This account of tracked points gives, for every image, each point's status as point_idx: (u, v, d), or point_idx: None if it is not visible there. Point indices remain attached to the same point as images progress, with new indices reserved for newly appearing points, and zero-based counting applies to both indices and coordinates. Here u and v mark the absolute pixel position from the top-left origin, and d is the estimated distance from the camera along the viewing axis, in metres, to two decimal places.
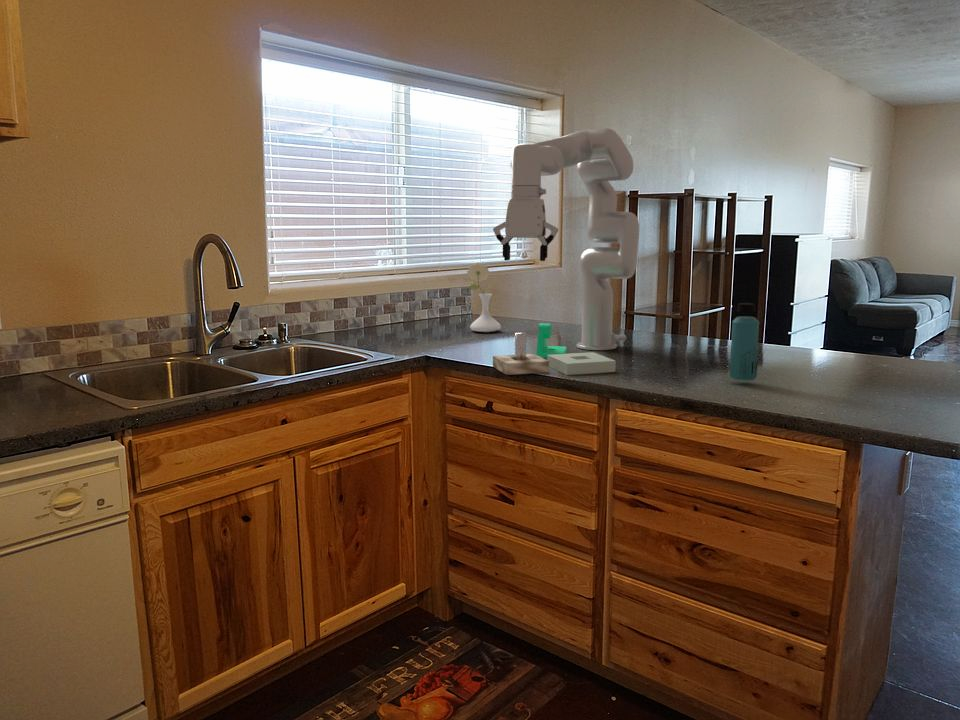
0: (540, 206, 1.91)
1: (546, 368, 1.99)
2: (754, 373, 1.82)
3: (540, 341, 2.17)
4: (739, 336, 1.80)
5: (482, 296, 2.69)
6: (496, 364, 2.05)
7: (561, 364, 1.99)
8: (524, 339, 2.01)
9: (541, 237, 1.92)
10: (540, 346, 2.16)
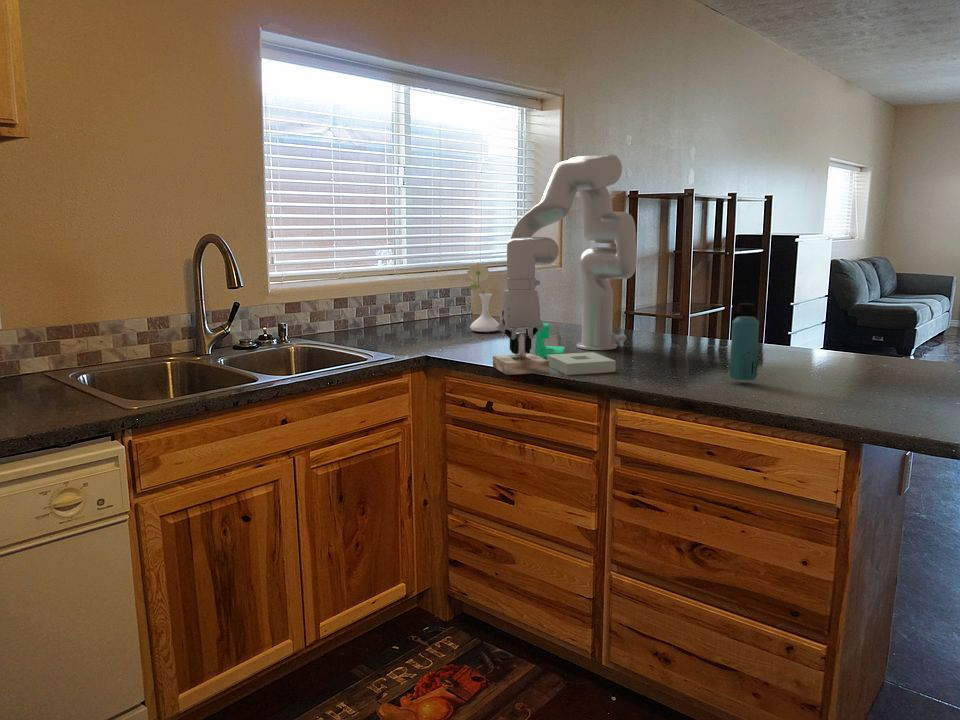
0: None
1: (546, 368, 1.99)
2: (754, 373, 1.82)
3: (538, 341, 2.17)
4: (739, 336, 1.80)
5: (482, 296, 2.69)
6: (496, 364, 2.05)
7: (561, 364, 1.99)
8: (524, 339, 2.01)
9: (531, 330, 2.01)
10: (538, 346, 2.16)
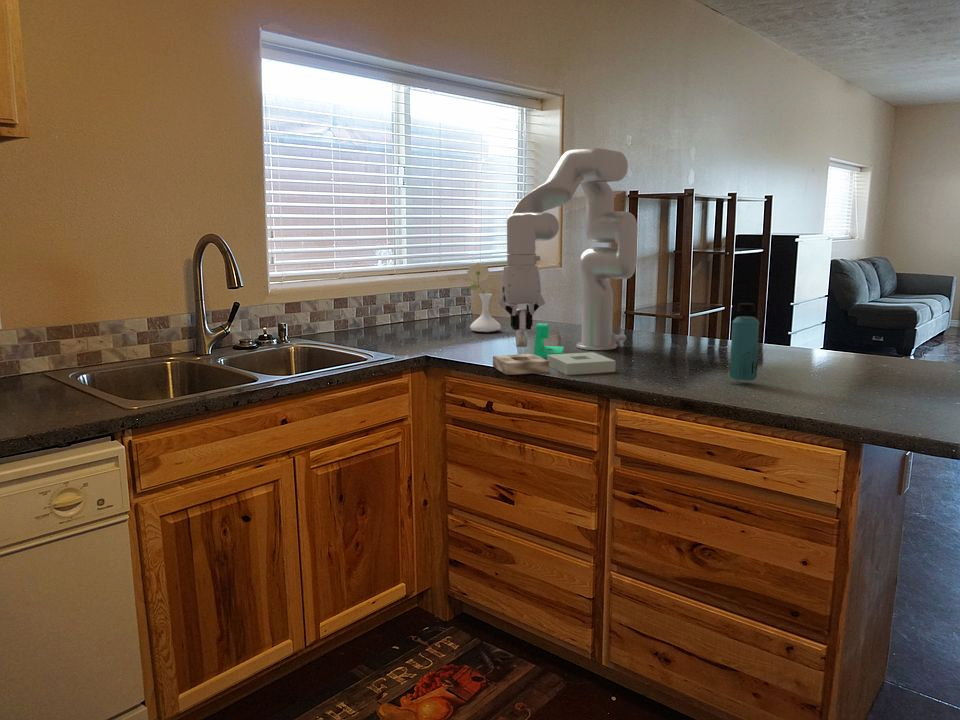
0: (538, 273, 1.99)
1: (546, 368, 1.99)
2: (754, 373, 1.82)
3: (537, 341, 2.17)
4: (739, 336, 1.80)
5: (482, 296, 2.69)
6: (496, 364, 2.05)
7: (561, 364, 1.99)
8: (525, 315, 2.00)
9: (532, 306, 2.00)
10: (538, 346, 2.16)
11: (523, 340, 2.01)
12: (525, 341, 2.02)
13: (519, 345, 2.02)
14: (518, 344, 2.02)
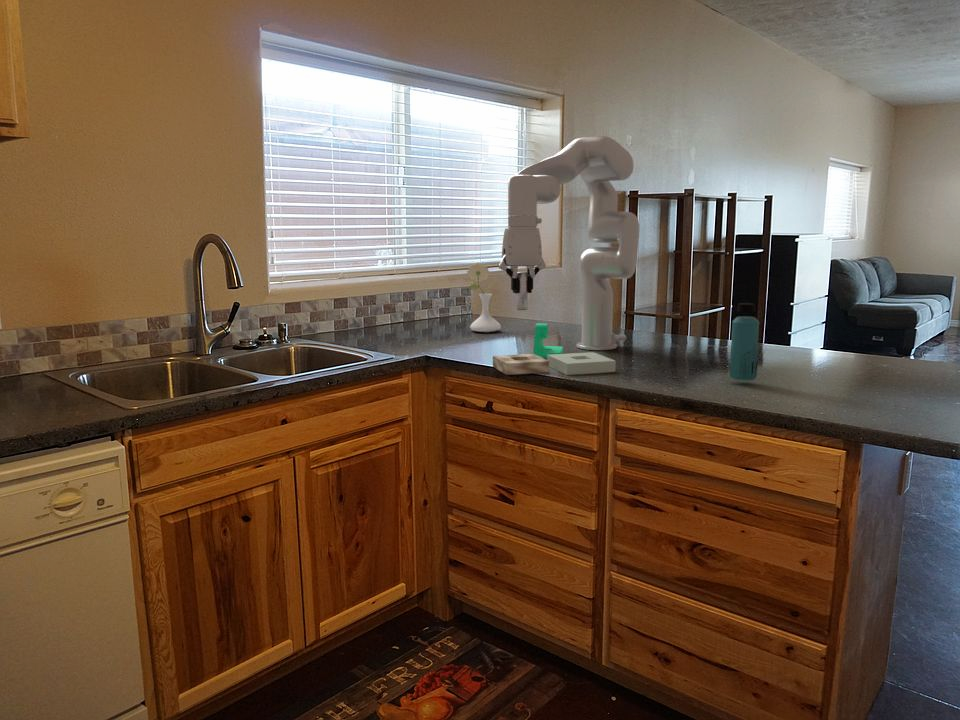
0: None
1: (546, 368, 1.99)
2: (754, 373, 1.82)
3: (536, 341, 2.17)
4: (739, 336, 1.80)
5: (482, 296, 2.69)
6: (496, 364, 2.05)
7: (561, 364, 1.99)
8: (526, 278, 1.98)
9: (533, 269, 1.98)
10: (537, 346, 2.16)
11: (523, 303, 1.99)
12: (525, 304, 2.00)
13: (519, 308, 1.99)
14: (519, 307, 2.00)
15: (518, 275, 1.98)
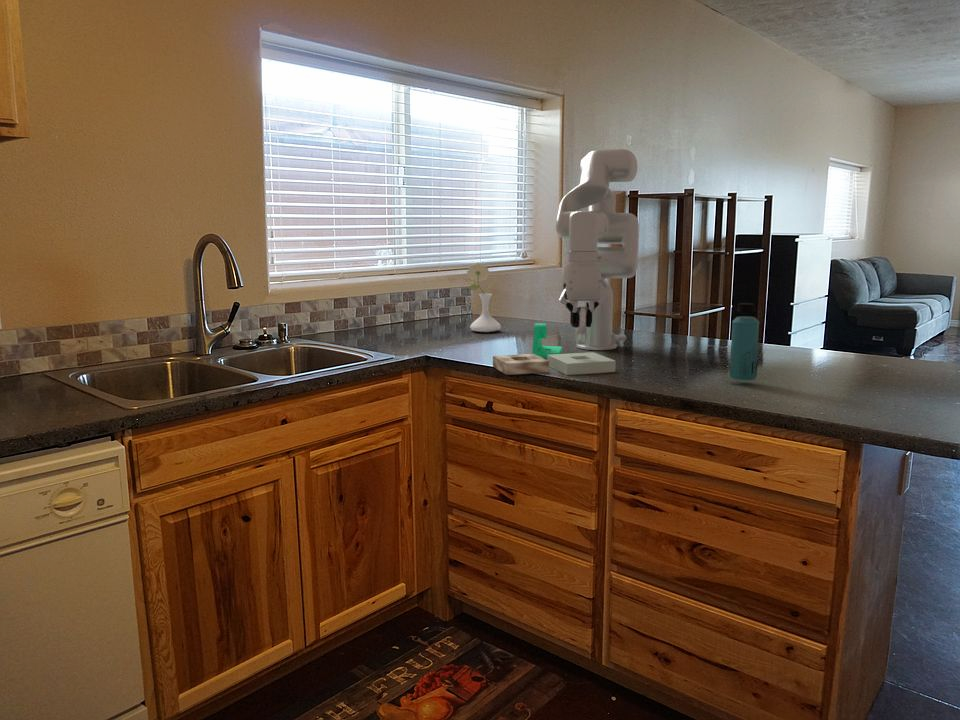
0: (600, 270, 1.99)
1: (546, 368, 1.99)
2: (754, 373, 1.82)
3: (535, 341, 2.17)
4: (739, 336, 1.80)
5: (482, 296, 2.69)
6: (496, 364, 2.05)
7: (561, 364, 1.99)
8: (585, 312, 2.00)
9: (592, 303, 2.00)
10: (536, 346, 2.16)
11: (583, 337, 2.01)
12: (585, 338, 2.01)
13: (579, 342, 2.01)
14: (578, 341, 2.01)
15: (578, 309, 2.00)
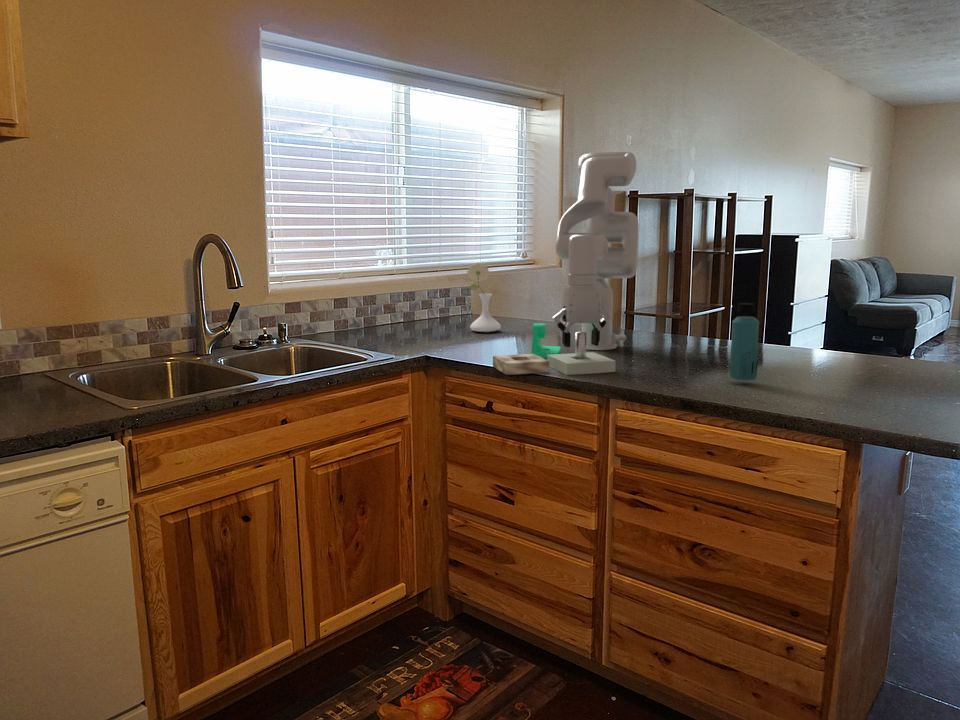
0: (599, 293, 2.00)
1: (546, 368, 1.99)
2: (754, 373, 1.82)
3: (534, 341, 2.17)
4: (739, 336, 1.80)
5: (482, 296, 2.69)
6: (496, 364, 2.05)
7: (561, 364, 1.99)
8: (585, 338, 2.02)
9: (597, 323, 2.02)
10: (535, 346, 2.16)
11: None
12: None
13: None
14: None
15: (577, 335, 2.02)
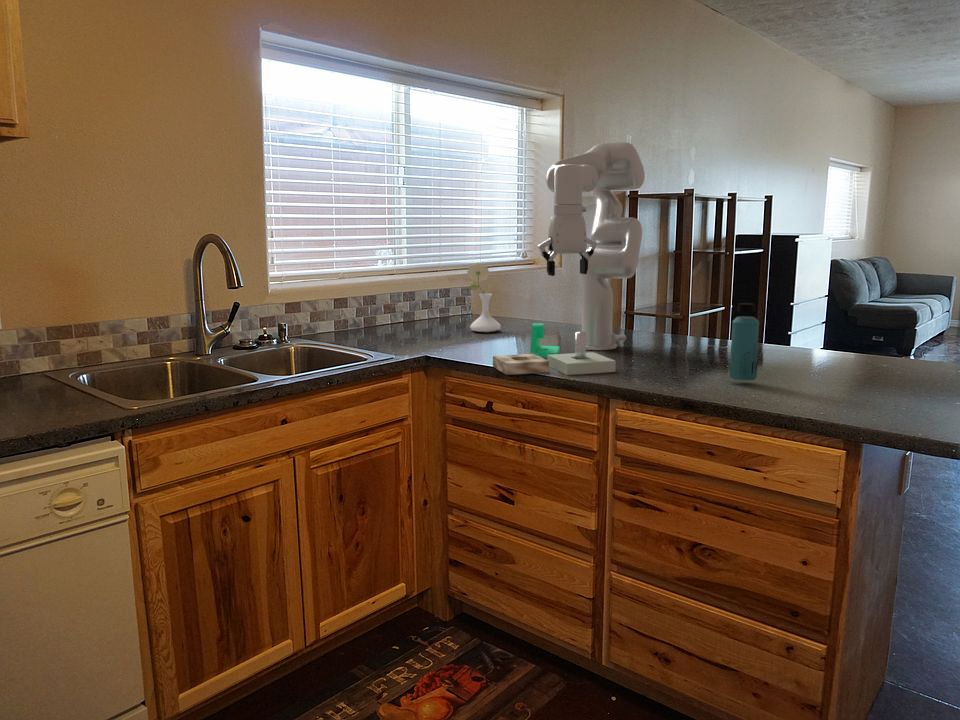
0: None
1: (546, 368, 1.99)
2: (754, 373, 1.82)
3: (533, 341, 2.17)
4: (739, 336, 1.80)
5: (482, 296, 2.69)
6: (496, 364, 2.05)
7: (561, 364, 1.99)
8: (585, 338, 2.02)
9: (585, 252, 2.05)
10: (534, 346, 2.17)
11: None
12: None
13: None
14: None
15: (577, 335, 2.02)
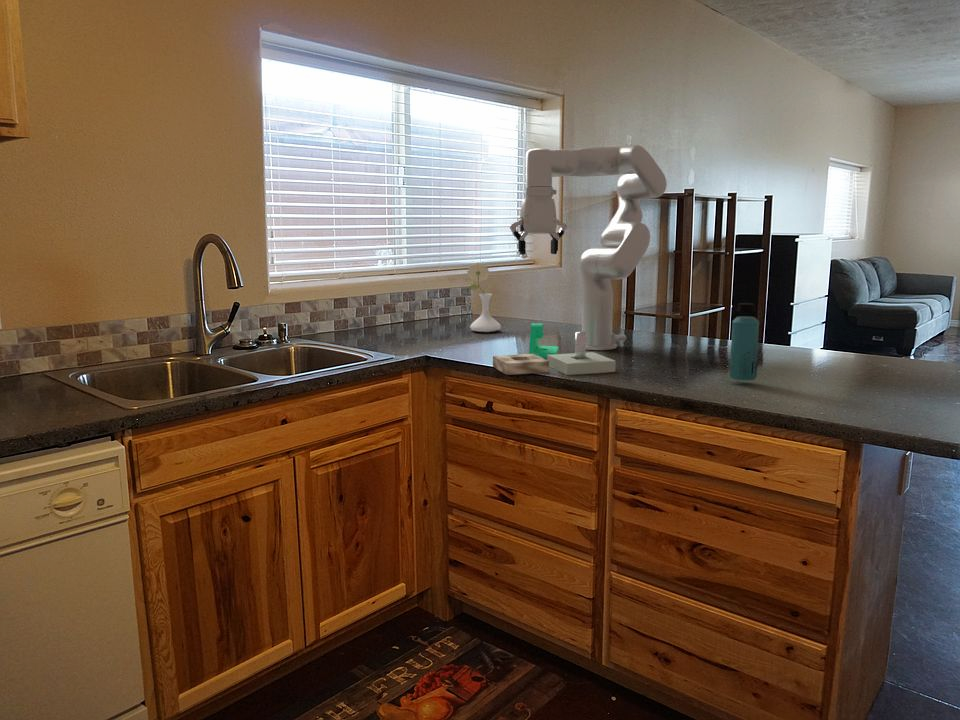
0: None
1: (546, 368, 1.99)
2: (754, 373, 1.82)
3: (532, 341, 2.17)
4: (739, 336, 1.80)
5: (482, 296, 2.69)
6: (496, 364, 2.05)
7: (561, 364, 1.99)
8: (585, 338, 2.02)
9: (555, 233, 2.15)
10: (532, 346, 2.17)
11: None
12: None
13: None
14: None
15: (577, 335, 2.02)
